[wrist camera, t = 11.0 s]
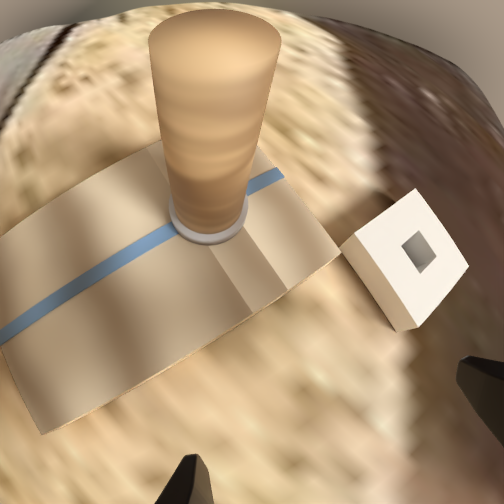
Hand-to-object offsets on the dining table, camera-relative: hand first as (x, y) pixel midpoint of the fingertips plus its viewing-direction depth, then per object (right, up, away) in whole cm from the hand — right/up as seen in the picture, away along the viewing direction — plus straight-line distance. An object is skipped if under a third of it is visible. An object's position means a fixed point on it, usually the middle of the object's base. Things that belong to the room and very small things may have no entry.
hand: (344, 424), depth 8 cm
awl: (-5, +7, +11) cm, 14 cm away
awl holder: (+8, +4, +12) cm, 15 cm away
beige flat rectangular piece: (-10, +4, +10) cm, 14 cm away
